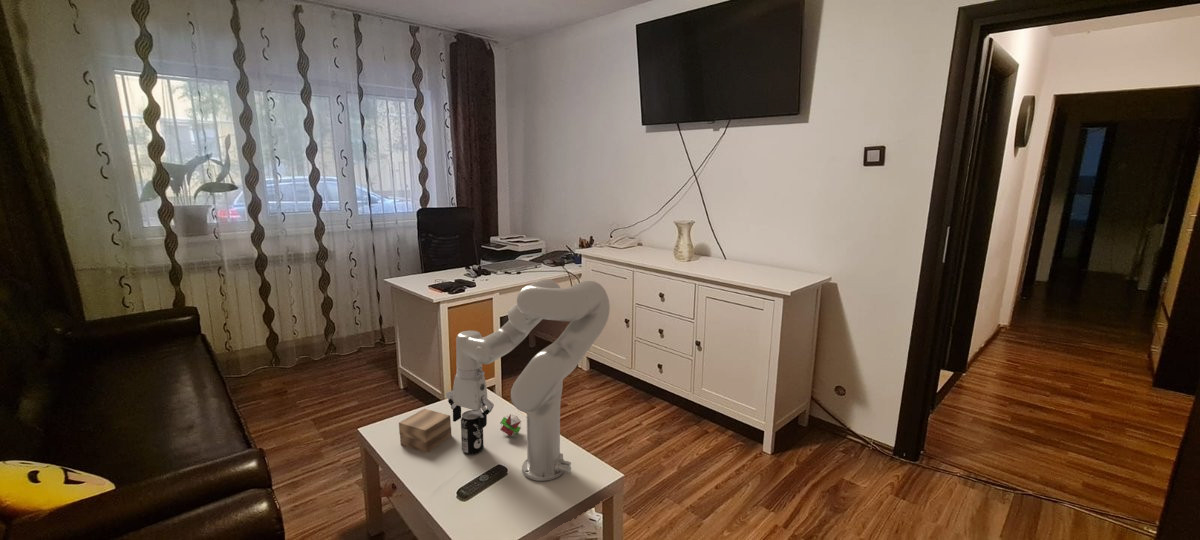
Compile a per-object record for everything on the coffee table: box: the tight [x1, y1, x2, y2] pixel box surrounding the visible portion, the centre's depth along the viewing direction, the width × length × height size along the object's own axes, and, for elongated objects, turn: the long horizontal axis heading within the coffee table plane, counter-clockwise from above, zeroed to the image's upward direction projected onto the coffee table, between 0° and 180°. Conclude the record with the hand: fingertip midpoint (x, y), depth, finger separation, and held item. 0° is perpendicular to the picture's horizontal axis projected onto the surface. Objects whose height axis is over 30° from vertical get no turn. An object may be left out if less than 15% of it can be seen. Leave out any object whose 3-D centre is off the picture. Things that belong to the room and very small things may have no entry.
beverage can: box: [460, 409, 484, 456], centre depth 157 cm, size 7×7×12 cm
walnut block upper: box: [398, 408, 452, 442], centre depth 163 cm, size 11×11×4 cm
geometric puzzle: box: [499, 413, 522, 436], centre depth 166 cm, size 7×7×8 cm
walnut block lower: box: [399, 426, 452, 454], centre depth 163 cm, size 11×11×4 cm
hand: (469, 423), depth 157 cm, fingers open, 9 cm apart
